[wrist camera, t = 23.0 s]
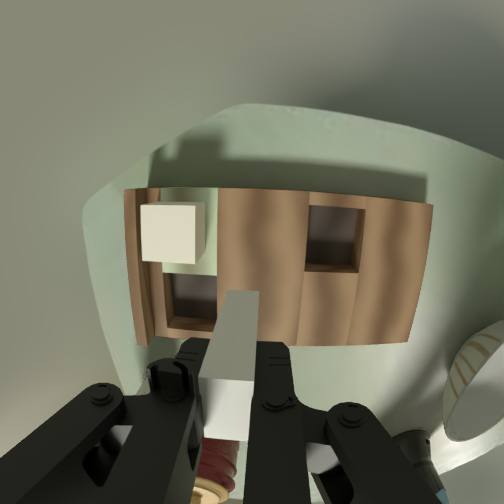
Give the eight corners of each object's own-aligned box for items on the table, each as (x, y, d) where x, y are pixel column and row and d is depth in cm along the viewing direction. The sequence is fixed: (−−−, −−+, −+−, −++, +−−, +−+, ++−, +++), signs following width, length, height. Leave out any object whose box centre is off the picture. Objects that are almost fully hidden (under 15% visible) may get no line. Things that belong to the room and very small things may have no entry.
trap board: (418, 202, 35) (445, 207, 28) (397, 329, 40) (415, 352, 33) (147, 187, 36) (123, 189, 30) (154, 321, 41) (137, 344, 34)
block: (205, 202, 33) (195, 205, 28) (204, 252, 34) (195, 264, 29) (157, 201, 33) (140, 205, 28) (158, 249, 34) (142, 260, 29)
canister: (205, 405, 45) (185, 484, 28) (253, 439, 47) (249, 513, 30) (163, 428, 48) (138, 494, 30) (209, 458, 50) (196, 522, 32)
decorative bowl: (424, 322, 40) (462, 360, 28) (521, 277, 37) (559, 298, 25) (414, 422, 46) (434, 460, 34) (501, 376, 43) (526, 403, 31)
